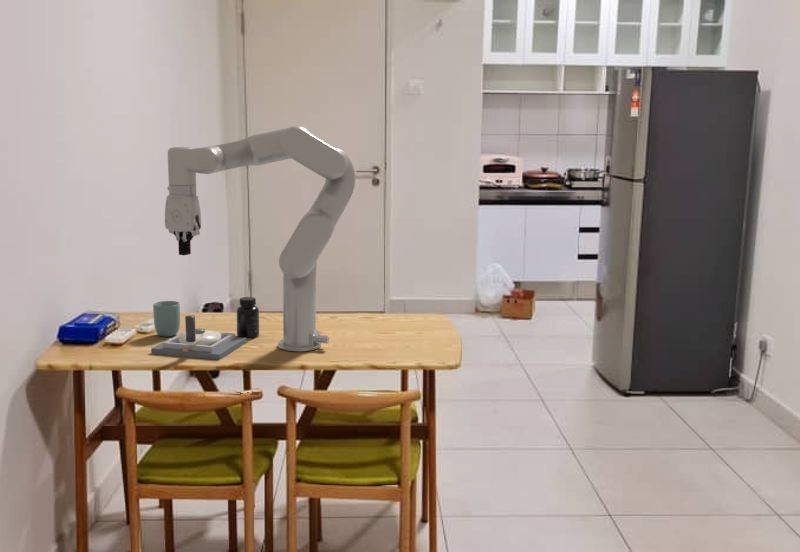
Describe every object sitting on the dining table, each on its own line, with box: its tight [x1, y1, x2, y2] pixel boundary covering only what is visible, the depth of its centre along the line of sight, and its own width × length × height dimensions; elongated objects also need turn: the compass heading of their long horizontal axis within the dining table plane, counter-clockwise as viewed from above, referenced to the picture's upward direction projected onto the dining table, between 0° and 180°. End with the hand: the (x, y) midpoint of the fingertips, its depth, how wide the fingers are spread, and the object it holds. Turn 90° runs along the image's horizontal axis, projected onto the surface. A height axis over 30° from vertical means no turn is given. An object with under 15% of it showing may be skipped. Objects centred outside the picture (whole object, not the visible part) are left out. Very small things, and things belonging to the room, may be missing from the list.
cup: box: [152, 300, 181, 337], centre depth 239 cm, size 8×8×10 cm
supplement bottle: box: [236, 296, 260, 340], centre depth 240 cm, size 7×7×12 cm
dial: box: [179, 314, 221, 346], centre depth 224 cm, size 16×12×10 cm
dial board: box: [150, 330, 247, 360], centre depth 227 cm, size 21×18×3 cm
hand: (184, 254), depth 225 cm, fingers closed
